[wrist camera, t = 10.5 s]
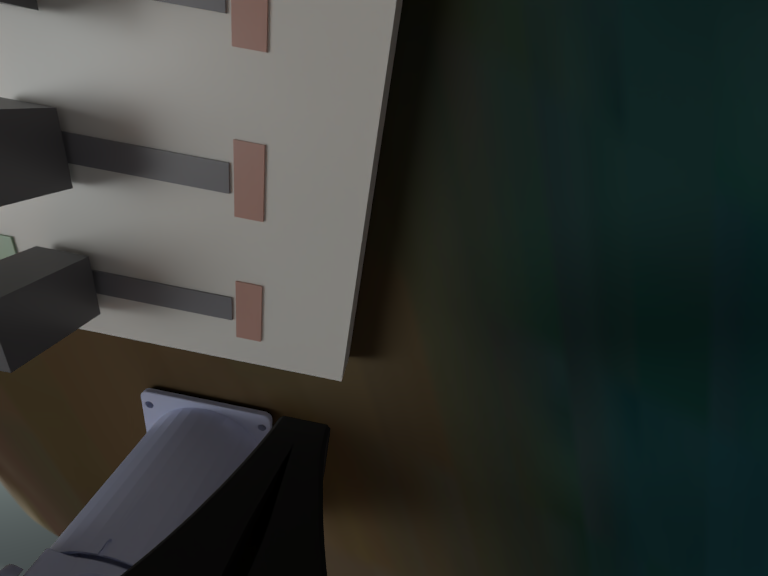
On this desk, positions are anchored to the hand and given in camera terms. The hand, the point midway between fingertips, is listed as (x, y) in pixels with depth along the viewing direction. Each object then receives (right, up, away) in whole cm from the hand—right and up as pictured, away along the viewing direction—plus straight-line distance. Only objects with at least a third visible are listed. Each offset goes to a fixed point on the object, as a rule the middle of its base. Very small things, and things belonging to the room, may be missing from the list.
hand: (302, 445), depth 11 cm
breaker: (-12, +5, +7) cm, 15 cm away
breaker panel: (-9, +11, +6) cm, 15 cm away
